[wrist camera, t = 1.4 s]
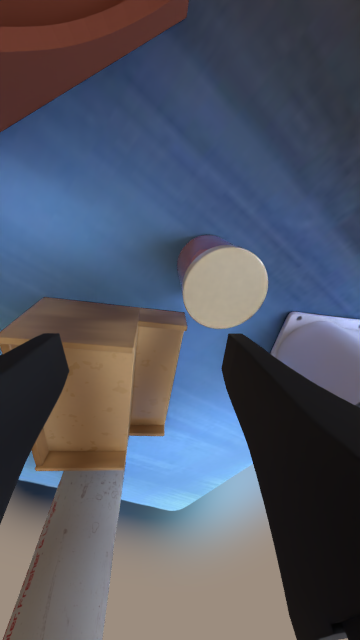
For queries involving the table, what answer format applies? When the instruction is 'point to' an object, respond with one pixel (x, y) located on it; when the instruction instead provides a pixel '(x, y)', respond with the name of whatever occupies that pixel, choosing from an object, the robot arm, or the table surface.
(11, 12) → the hanging shelf
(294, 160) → the table surface
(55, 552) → the thermos bottle
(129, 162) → the table surface
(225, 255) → the spice jar
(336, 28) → the table surface
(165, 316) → the spice rack
